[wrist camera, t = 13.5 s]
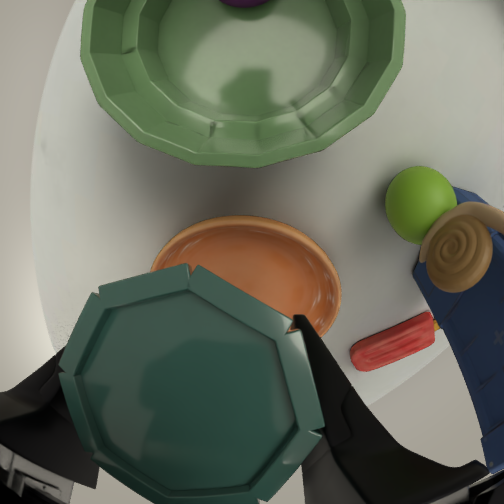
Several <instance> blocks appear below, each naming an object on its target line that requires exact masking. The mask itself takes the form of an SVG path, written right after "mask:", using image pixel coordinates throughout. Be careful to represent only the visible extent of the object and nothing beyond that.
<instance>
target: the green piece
mask: <svg viewBox="0 0 504 504" xmlns="http://www.w3.org/2000/svg"><path fill="white" fill-rule="evenodd" d="M98 289H99V294H98V293H93V292H92V293H91V294H90V296H89V298H88V300H87V302H86V304H85V306H84V308H83V310H82V312H81V314H80V316H79V319H78V321H77V323H76V325H75V327H74V329H73V331H72V334H71V336H70V338H69V340H68V343H67V345H66V347H65V350H64V352H63V354H62V357H61V359H60V362H59V366H60V367H61V368H62V369H63V370H64V372H60V373H58V375H59V379H60V383H61V387H62V390H63V394H64V397H65V400H66V403H67V406H68V409H69V412H70V415H71V418H72V421H73V424H74V427H75V429H76V432H77V434H78V437H79V439H80V442H81V444H82V447H83V449H84V451H85V452H88V453H93V454H92V456H91V460H92V461H93V462H94V463H96V464H97V465H98V466H99V467H101V468H102V469H103V470H105V471H106V472H107V473H109V474H110V475H111V476H113V477H114V478H115V479H117V480H118V481H119V482H121V483H123V484H124V485H125V486H127V487H128V488H130V489H131V490H133V491H134V492H136V493H137V494H139V495H141V496H142V497H144V498H146V499H147V500H149V501H151V502H152V503H154V504H259V502H260V500H263V501H266V502H268V501H269V500H270V499H271V498H272V497H273V496H274V495H275V494H276V492H277V491H278V490H279V489H280V488H281V487H282V486H283V485H284V484H285V483H286V481H287V480H288V479H289V478H290V477H291V476H292V474H293V473H294V472H295V471H296V470H297V469H298V467H299V466H300V465H301V464H302V463H303V461H304V460H305V459H306V458H307V456H308V455H309V454H310V452H311V451H312V450H313V449H314V447H315V446H316V445H317V443H318V442H319V441H320V439H321V438H322V436H323V435H322V433H321V431H320V430H319V428H323V427H325V422H324V418H323V414H322V409H321V405H320V401H319V397H318V393H317V389H316V385H315V381H314V377H313V373H312V369H311V365H310V361H309V357H308V353H307V350H306V346H305V342H304V338H303V334H302V331H301V329H294V330H290V331H288V330H289V328H290V327H291V325H292V323H293V319H291V318H290V317H288V316H286V315H284V314H283V313H281V312H279V311H277V310H275V309H274V308H272V307H270V306H268V305H267V304H265V303H263V302H261V301H260V300H258V299H256V298H255V297H253V296H251V295H249V294H248V293H246V292H244V291H243V290H241V289H239V288H237V287H236V286H234V285H232V284H231V283H229V282H227V281H226V280H224V279H222V278H221V277H219V276H217V275H216V274H214V273H212V272H211V271H209V270H207V269H206V268H204V267H202V266H201V265H197V266H196V267H195V269H194V271H192V267H191V265H189V264H188V263H183V264H179V265H176V266H172V267H168V268H164V269H161V270H157V271H153V272H149V273H146V274H142V275H138V276H134V277H131V278H127V279H123V280H120V281H116V282H112V283H108V284H105V285H101V286H99V287H98Z"/></svg>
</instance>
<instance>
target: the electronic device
mask: <svg viewBox="0 0 504 504" xmlns="http://www.w3.org/2000/svg"><path fill="white" fill-rule="evenodd" d="M452 188H453V190H454V193H455V196H456V200H457V205H459V204H461V203H464V202H480V203H484V204H487V205H489V204H488V203H486V202H485V201H484V200H483V199H482V198H480V197H479V196H478V195H477V194H475V193H472V192H469V191H465V190H462V189H459V188H456V187H452ZM486 227H487V229H488V231H489V233H490V235H491V239H492V243H493V253H492V259H491V262H490V265H489V267H488V269H487V271H486V273H485V274H484V276H483V277H482V278H481V279H480V280H479V282H477V283H476V284H475V285H474V286H472V287H471V288H469V289H467V290H465V291H462V292H456V293H450V292H445V291H443V290H441V289H439V288H438V287H436V286H435V285H434V284H433V282H432V281H431V280H430V278H429V275H428V273H427V268H426V261H425V262H423V263H421V262H420V261H418V264H417V266H416V268H415V270H414V272H413V278H414V279H415V281H416V283H417V285H418V287H419V288H420V290H421V292H422V294H423V296H424V298H425V300H426V302H427V303H428V305H429V307H430V309H431V311H432V313H433V315H434V317H435V319H436V321H437V323H438V326H439V328H441V329H443V330H444V333H445V335H446V337H447V339H448V341H449V343H450V346H451V348H452V350H453V353H454V355H455V357H456V359H457V362H458V364H459V367H460V369H461V372H462V374H463V377H464V380H465V382H466V385H467V388H468V390H469V393H470V396H471V399H472V402H473V405H474V408H475V411H476V414H477V418H478V421H479V424H480V428H481V431H482V435H483V437H482V438H481V443H482V447H483V452H484V456H485V461H486V466H487V468H488V470H489V472H490V473H491V474H494V473H496V472H498V471H500V470H502V469H504V235H503V234H502V233H500V232H498V231H496V230H494V229H492V228H490V227H488V226H486Z"/></svg>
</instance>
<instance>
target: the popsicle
mask: <svg viewBox="0 0 504 504" xmlns="http://www.w3.org/2000/svg"><path fill="white" fill-rule="evenodd" d="M438 329H440V328H439V326H438V323H437V321H436V320H434V321H433V317H432V315H431V313H430V312H424V313H422V314H420V315H418V316H416V317H414V318H412V319H410V320H408V321H406V322H403V323H401V324H399V325H397V326H394V327H392V328H390V329H387V330H385V331H383V332H380V333H378V334H375V335H373V336H371V337H368V338H366V339H364V340H361V341H359V342H357V343H356V344H355V345H353V346H352V348H351V350H350V357H351V362H352V363H353V365H354V366H355V368H356V369H357V370H359V371H365V372H367V371H371V370H374V369H377V368H380V367H383V366H385V365H388V364H390V363H393V362H395V361H398V360H400V359H402V358H405V357H407V356H409V355H411V354H414V353H416V352H418V351H420V350H422V349H424V348H426V347H428V346H430V345H431V344H433V343H434V341H435V335H434V331H436V330H438Z"/></svg>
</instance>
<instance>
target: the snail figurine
mask: <svg viewBox="0 0 504 504" xmlns="http://www.w3.org/2000/svg"><path fill="white" fill-rule="evenodd" d="M385 208H386V214H387V217H388V220H389V222H390V224H391V226H392V228H393V229H394V230H395V232H396V233H397V234H398V235H399V236H401V237H402V238H403V239H405V240H406V241H408V242H411V243H414V244H418V245H421V249H420V254H419V261H420V262H421V263H423V262H425V261H426V268H427V273H428V275H429V278H430V280H431V281H432V282H433V284H434V285H435V286H436V287H438V288H439V289H441V290H443V291H445V292H450V293H456V292H462V291H465V290H467V289H469V288H471V287H472V286H474V285H475V284H476V283H477V282H479V280H480V279H481V278H482V277H483V276H484V274H485V273H486V271H487V269H488V267H489V265H490V262H491V259H492V253H493V243H492V239H491V235H490V233H489V231H488V229H487V227H486V226H488V227H490V228H492V229H494V230H496V231H498V232H500V233H502V234H503V235H504V212H503V211H501V210H499V209H497V208H495V207H492V206H490V205H487V204H484V203H480V202H464V203H461V204H459V205H457V200H456V196H455V193H454V190H453V188H452V186H451V184H450V183H449V182H448V180H447V179H446V178H445V177H444V176H443V175H442V174H440V173H439V172H437V171H436V170H434V169H431V168H428V167H423V166H415V167H410V168H407V169H405V170H403V171H402V172H400V173H399V174H398V175H397V176H396V177H395V178H394V179H393V180H392V182H391V183H390V185H389V187H388V190H387V193H386V199H385Z"/></svg>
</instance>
